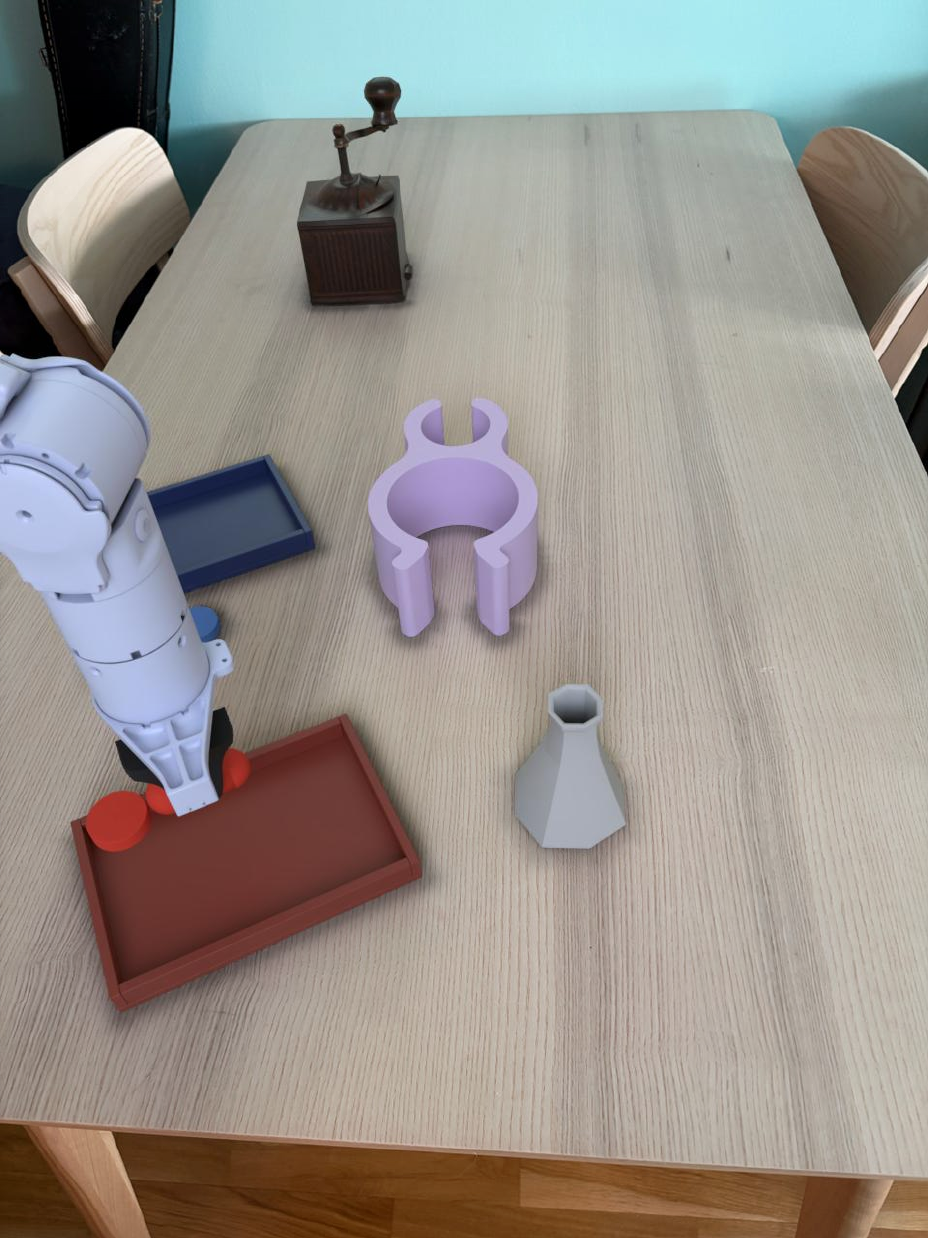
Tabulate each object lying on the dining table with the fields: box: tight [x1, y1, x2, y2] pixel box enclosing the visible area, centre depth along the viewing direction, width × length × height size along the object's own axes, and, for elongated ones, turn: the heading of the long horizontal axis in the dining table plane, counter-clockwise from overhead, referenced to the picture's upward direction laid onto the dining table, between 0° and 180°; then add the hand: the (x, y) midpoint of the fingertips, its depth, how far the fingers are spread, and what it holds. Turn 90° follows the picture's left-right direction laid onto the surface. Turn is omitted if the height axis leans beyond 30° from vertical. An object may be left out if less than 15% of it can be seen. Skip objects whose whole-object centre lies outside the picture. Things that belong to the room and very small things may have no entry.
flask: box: [513, 683, 627, 850], centre depth 58 cm, size 7×7×10 cm
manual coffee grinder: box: [296, 76, 414, 307], centre depth 103 cm, size 16×11×18 cm
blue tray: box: [146, 453, 317, 594], centre depth 79 cm, size 17×11×2 cm, turn 115°
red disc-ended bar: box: [86, 747, 250, 852], centre depth 55 cm, size 10×3×2 cm, turn 115°
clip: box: [367, 397, 539, 638], centre depth 76 cm, size 20×12×7 cm, turn 179°
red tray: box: [70, 713, 423, 1013], centre depth 59 cm, size 18×12×2 cm
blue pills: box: [189, 605, 222, 643], centre depth 71 cm, size 10×3×2 cm, turn 116°
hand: (197, 779), depth 56 cm, fingers closed on red disc-ended bar, 2 cm apart
